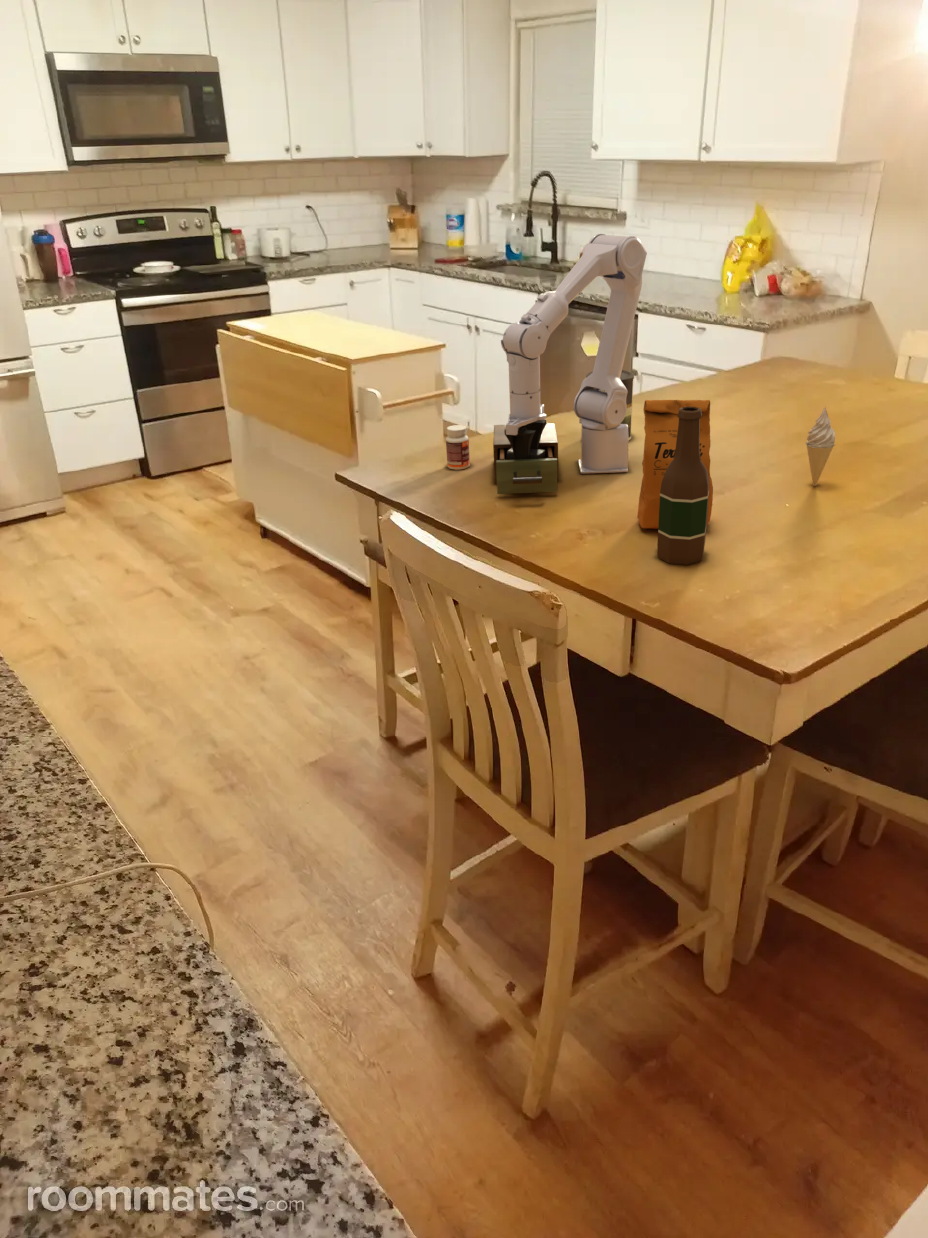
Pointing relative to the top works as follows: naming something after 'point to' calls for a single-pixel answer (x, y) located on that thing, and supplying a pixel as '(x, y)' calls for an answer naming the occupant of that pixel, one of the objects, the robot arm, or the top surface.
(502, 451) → the drawer
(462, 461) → the pill bottle
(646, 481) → the coffee package
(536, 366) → the robot arm
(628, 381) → the coffee can
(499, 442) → the cabinet
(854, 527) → the top surface
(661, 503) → the beer bottle
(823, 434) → the ice cream cone
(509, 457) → the dark brown box
